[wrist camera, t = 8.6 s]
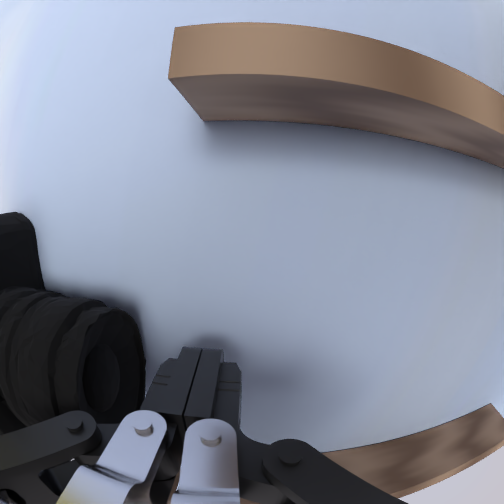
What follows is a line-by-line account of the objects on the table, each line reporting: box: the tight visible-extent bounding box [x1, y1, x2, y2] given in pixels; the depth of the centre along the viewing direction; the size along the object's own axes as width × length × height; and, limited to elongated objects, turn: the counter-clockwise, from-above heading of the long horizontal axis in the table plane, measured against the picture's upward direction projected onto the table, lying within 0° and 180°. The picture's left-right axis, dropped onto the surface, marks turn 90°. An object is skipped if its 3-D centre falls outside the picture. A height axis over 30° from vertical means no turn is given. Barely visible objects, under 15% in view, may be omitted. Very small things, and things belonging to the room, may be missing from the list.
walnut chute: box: [168, 22, 504, 504], centre depth 9 cm, size 23×21×4 cm
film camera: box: [0, 212, 146, 469], centre depth 7 cm, size 15×10×9 cm, turn 179°
